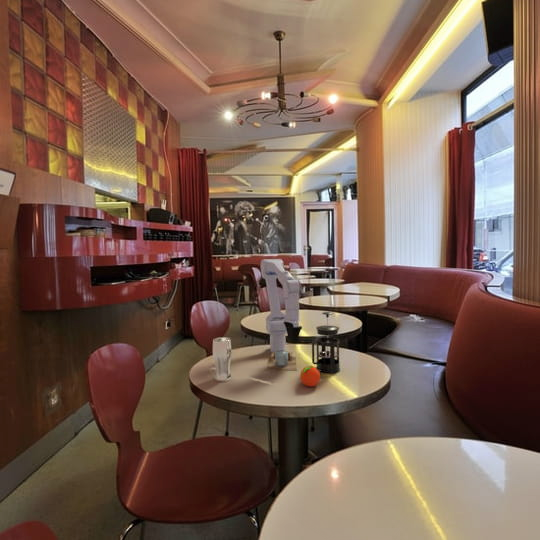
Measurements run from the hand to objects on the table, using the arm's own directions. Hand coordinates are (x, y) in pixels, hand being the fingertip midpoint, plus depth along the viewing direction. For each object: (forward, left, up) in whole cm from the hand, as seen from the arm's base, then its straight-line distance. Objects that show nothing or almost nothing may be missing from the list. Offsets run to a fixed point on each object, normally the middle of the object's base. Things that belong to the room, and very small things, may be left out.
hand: (292, 340), depth 152 cm
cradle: (+2, -5, -10) cm, 11 cm away
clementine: (+25, +5, -10) cm, 28 cm away
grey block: (+7, -5, -9) cm, 12 cm away
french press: (+8, +13, -10) cm, 19 cm away
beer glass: (+17, -27, -10) cm, 33 cm away
